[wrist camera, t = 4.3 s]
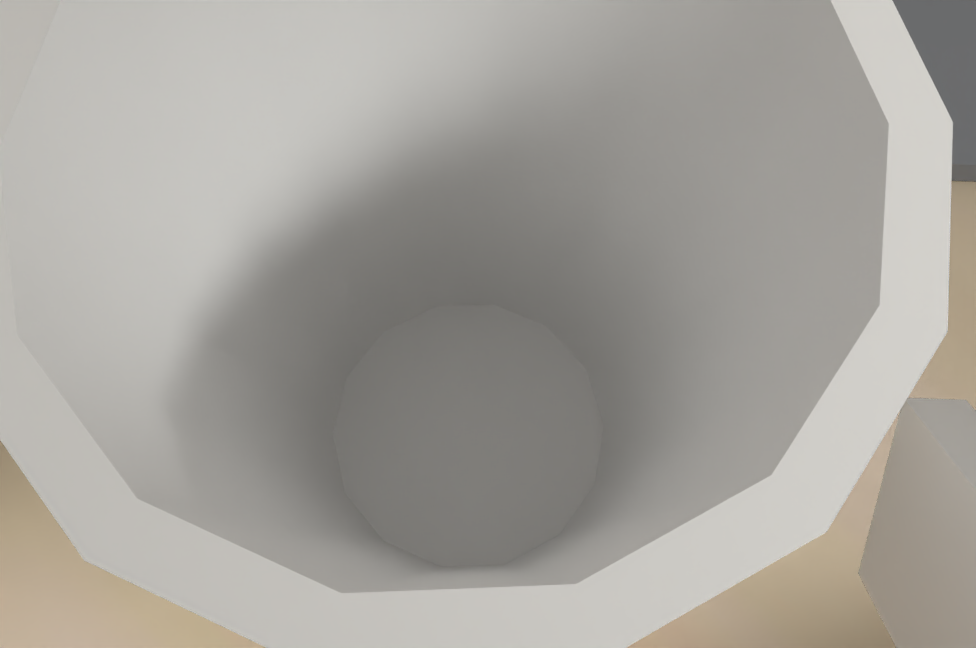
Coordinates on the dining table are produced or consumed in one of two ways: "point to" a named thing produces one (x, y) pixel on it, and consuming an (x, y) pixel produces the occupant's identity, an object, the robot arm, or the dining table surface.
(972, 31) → the rubber mat
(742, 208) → the foam cup
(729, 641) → the dining table surface
